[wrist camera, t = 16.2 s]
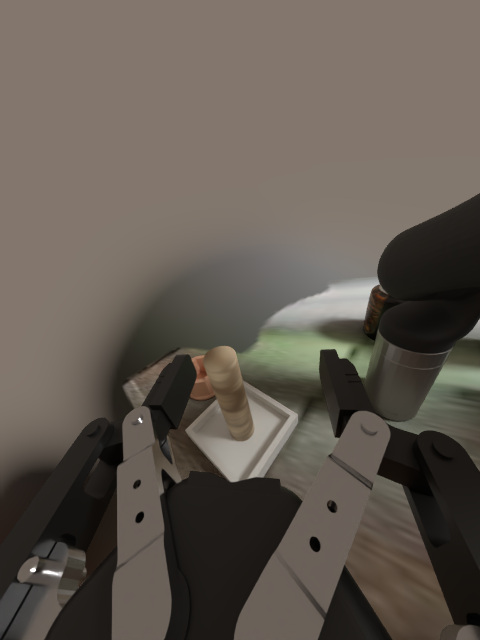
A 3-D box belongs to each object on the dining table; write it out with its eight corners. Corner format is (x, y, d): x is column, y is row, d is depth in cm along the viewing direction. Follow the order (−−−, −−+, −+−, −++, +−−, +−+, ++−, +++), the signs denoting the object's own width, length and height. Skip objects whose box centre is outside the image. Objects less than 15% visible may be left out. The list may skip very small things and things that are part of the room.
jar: (373, 347, 53) (386, 297, 45) (357, 322, 62) (365, 277, 54) (424, 344, 51) (447, 291, 43) (399, 318, 60) (414, 271, 52)
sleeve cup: (208, 364, 58) (202, 349, 55) (232, 379, 52) (227, 363, 49) (180, 387, 53) (172, 372, 50) (202, 408, 47) (195, 392, 43)
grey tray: (240, 385, 50) (238, 377, 49) (297, 422, 40) (297, 414, 38) (189, 437, 41) (184, 430, 40) (246, 502, 31) (243, 496, 30)
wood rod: (241, 411, 43) (220, 342, 32) (259, 425, 40) (242, 353, 29) (225, 430, 40) (195, 361, 29) (243, 447, 37) (218, 376, 26)
